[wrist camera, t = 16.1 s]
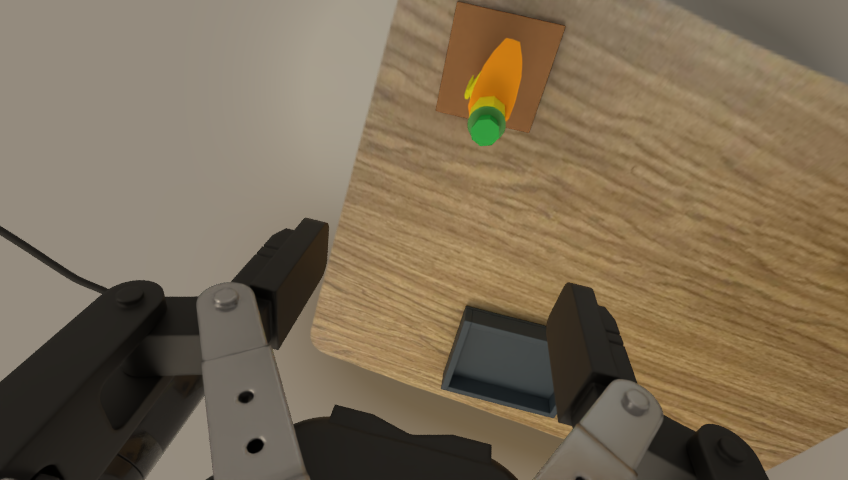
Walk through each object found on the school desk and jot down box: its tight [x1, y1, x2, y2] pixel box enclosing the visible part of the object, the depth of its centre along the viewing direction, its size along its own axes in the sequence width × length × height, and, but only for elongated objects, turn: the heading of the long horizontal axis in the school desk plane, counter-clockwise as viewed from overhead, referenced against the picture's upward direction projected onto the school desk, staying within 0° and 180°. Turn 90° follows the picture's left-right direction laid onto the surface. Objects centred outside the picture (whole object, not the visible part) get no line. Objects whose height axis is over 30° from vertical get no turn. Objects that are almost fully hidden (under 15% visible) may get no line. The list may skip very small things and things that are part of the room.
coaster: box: [436, 2, 565, 133], centre depth 31 cm, size 8×8×1 cm
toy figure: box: [464, 38, 522, 146], centre depth 26 cm, size 7×4×12 cm, turn 166°
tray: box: [441, 306, 557, 418], centre depth 47 cm, size 15×13×2 cm
